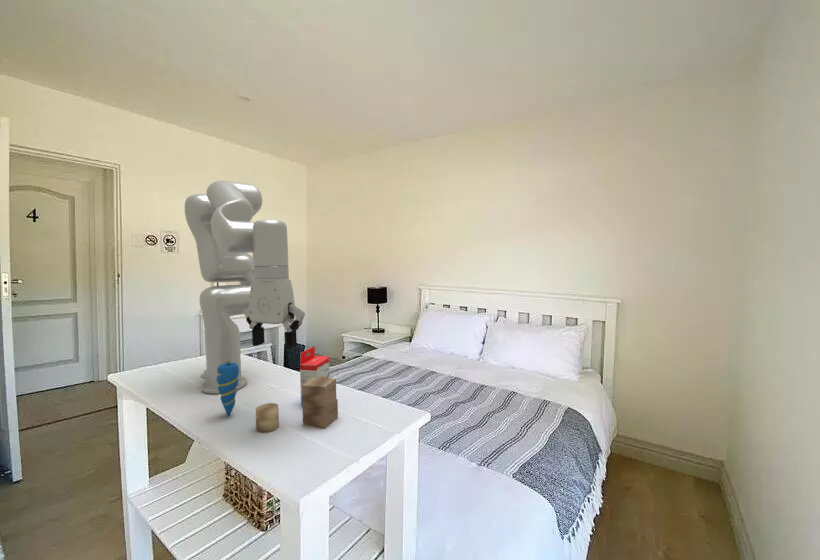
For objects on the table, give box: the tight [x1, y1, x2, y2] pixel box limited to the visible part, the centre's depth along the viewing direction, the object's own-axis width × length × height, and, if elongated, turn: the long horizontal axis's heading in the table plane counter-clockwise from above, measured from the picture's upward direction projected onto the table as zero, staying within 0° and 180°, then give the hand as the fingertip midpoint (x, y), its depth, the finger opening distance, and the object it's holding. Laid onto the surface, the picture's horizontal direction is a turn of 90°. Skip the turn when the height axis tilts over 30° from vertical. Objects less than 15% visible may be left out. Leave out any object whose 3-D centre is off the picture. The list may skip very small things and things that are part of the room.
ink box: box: [299, 346, 330, 407], centre depth 100 cm, size 8×5×15 cm, turn 168°
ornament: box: [217, 358, 239, 417], centre depth 91 cm, size 5×5×15 cm
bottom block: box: [301, 398, 339, 430], centre depth 88 cm, size 6×6×5 cm
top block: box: [302, 377, 337, 408], centre depth 88 cm, size 6×6×5 cm
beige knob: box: [255, 402, 280, 434], centre depth 85 cm, size 5×5×5 cm
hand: (274, 346), depth 85 cm, fingers open, 9 cm apart
